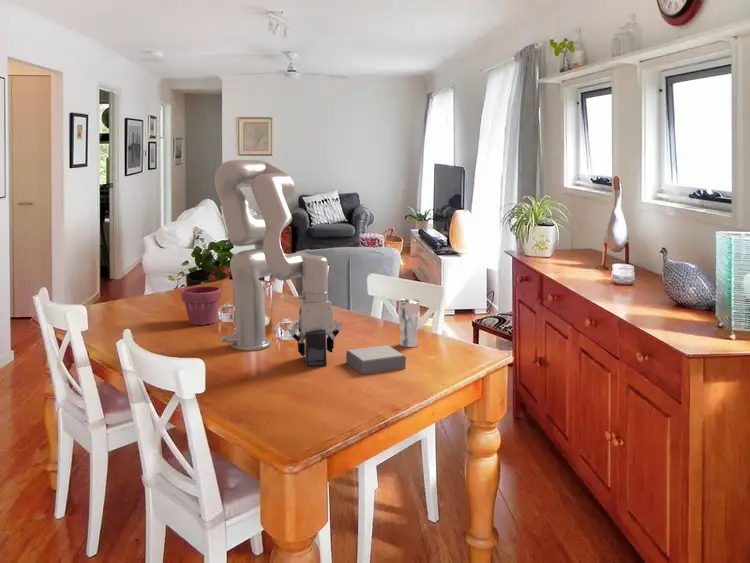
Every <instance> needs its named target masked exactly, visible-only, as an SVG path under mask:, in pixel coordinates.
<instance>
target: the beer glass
mask: <svg viewBox="0 0 750 563" xmlns="http://www.w3.org/2000/svg"><path fill="white" fill-rule="evenodd" d="M420 310H421V309H420V300H418V299H415V298H403V299H400V300H399V303H398V322H399V328H400V340H399V346H400V347H402V348H406V347H407V348H408V349H409V348H410V347H412V348H416V347H418V346H419V343H418V336H417V335H418V329H419V325H420V315H421V312H420ZM410 349H411V348H410Z"/></svg>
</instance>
